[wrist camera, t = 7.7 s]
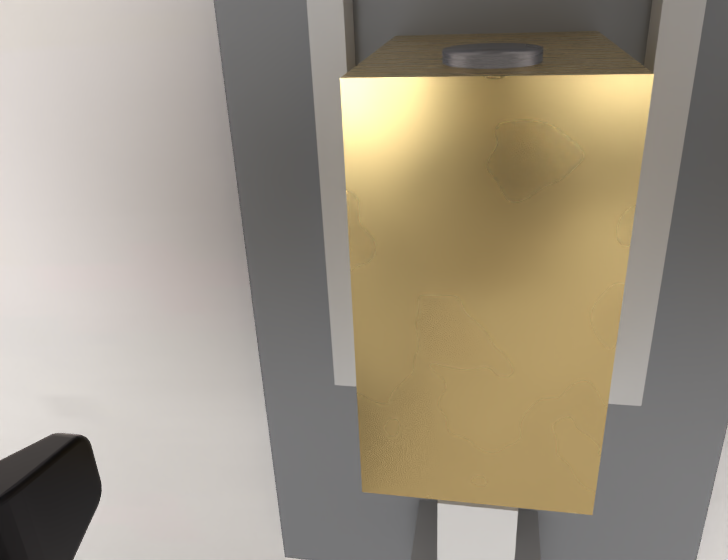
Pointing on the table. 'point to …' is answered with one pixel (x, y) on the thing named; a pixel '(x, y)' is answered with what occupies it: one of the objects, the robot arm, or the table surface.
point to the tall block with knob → (490, 259)
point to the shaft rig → (334, 299)
